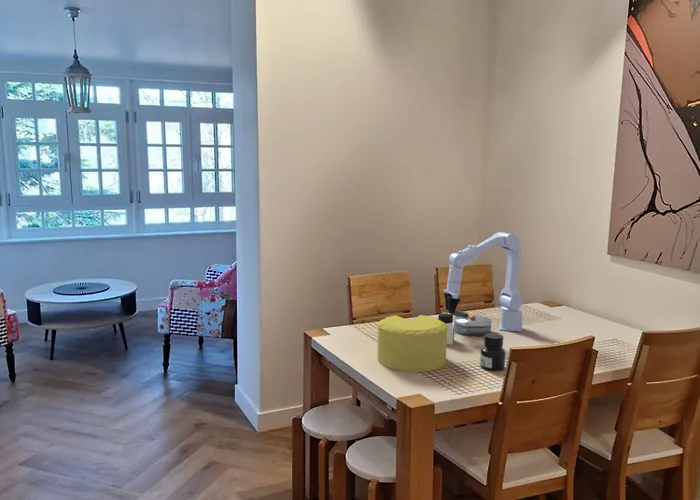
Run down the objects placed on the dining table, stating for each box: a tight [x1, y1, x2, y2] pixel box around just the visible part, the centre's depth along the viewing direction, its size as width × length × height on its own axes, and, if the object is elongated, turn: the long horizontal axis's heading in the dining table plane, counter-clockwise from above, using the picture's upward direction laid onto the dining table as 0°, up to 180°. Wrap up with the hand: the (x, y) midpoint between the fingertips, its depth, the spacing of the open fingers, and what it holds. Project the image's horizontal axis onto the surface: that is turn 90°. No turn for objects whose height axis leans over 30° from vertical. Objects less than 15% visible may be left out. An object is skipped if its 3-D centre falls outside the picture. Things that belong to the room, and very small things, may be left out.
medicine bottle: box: [437, 312, 455, 345], centre depth 251 cm, size 7×7×12 cm
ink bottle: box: [479, 332, 506, 372], centre depth 221 cm, size 10×9×12 cm
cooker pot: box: [453, 321, 492, 338], centre depth 269 cm, size 20×16×4 cm
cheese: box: [376, 314, 448, 373], centre depth 228 cm, size 26×26×15 cm
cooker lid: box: [452, 308, 493, 327], centre depth 268 cm, size 22×16×3 cm
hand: (449, 311), depth 261 cm, fingers open, 7 cm apart
